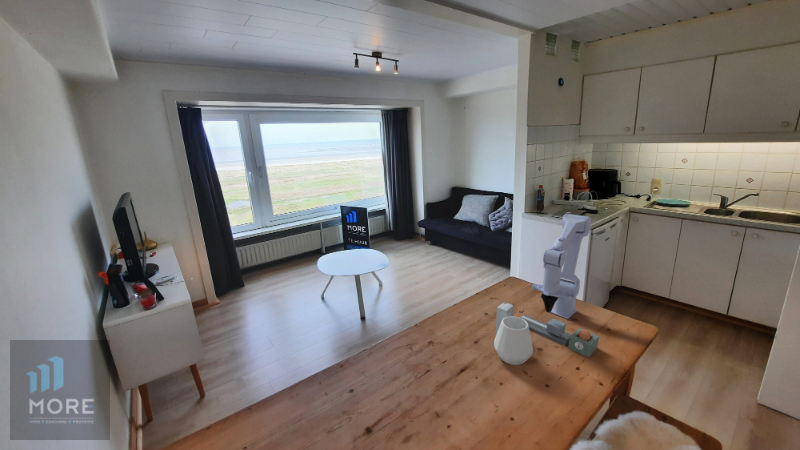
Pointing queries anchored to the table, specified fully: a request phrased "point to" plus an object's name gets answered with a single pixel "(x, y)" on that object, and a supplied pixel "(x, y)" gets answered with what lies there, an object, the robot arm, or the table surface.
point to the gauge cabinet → (583, 343)
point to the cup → (513, 341)
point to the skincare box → (503, 313)
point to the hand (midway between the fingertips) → (548, 311)
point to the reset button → (584, 335)
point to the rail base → (541, 329)
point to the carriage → (556, 327)
